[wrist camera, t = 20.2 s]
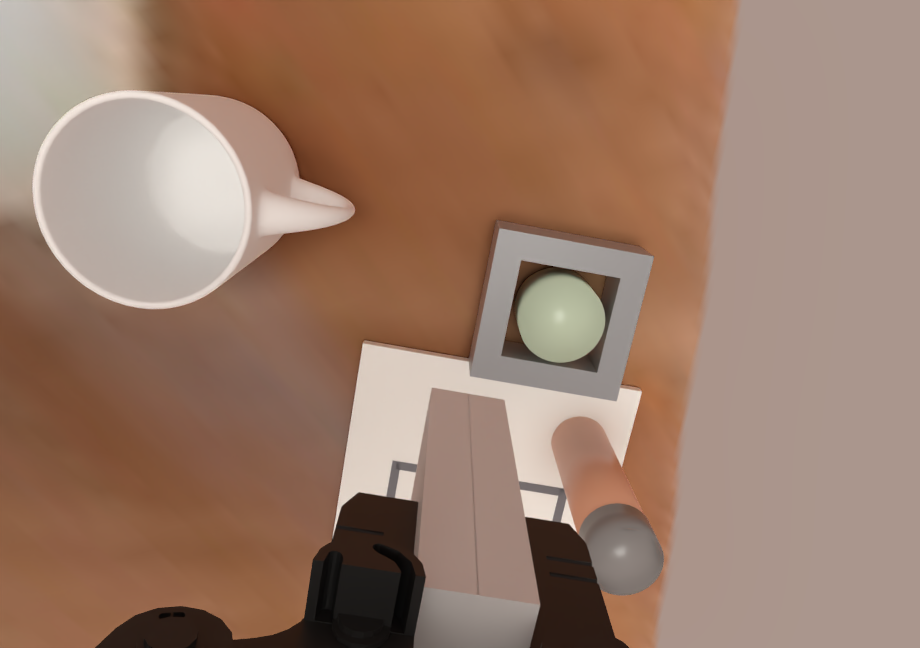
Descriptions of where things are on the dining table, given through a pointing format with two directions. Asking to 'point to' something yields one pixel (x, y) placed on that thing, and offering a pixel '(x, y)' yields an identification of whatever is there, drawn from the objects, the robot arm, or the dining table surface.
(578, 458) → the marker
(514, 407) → the sheet
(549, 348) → the button
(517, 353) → the button housing
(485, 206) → the dining table surface
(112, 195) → the mug
